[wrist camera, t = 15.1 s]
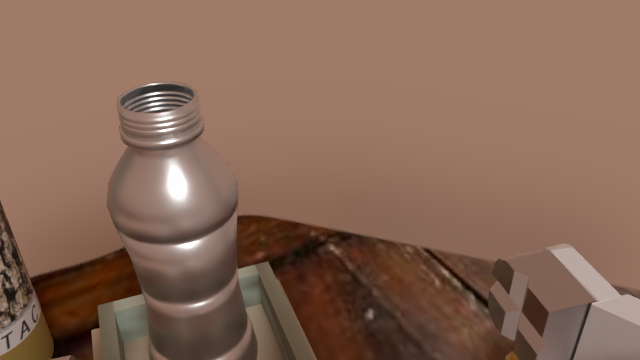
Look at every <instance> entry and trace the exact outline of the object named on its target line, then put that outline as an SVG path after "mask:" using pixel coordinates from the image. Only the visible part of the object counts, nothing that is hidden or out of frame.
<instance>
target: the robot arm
mask: <svg viewBox="0 0 640 360" xmlns="http://www.w3.org/2000/svg"><path fill="white" fill-rule="evenodd" d="M492 274H493V275H494V276H495V278H496V279H497V281H496V283H495V284H494V285H493V286H492V287H491V288H490V290H489V296H488V306H489V311H490V315H491V318H492V320H493V322H494V324H495V326H496V327H497V329H498V330H499V332H500V333H501V334H502V335H503V336H505V337H507V338H509V339H511V340H513V341H514V345H513V352H514V353H515V355H516V356H517V358H518V359H519V360H640V299H638V298H635V297H633V296H631V295H628V294H627V295H622V296H621V295H620V294H619V293H618V292H617V291H616V290H615V289H614V288H613V287H612V286H611V285H610V284H609V283H608V282H607V281H606V280H605V279H604V278H603V277H602V276H601V275H600V274H599V273H598V272H597V271H596V270H595V269H594V268H593V267H592V266H591V265H590V264H589V263H588V262H587V261H586V260H585V259H584V258H583V257H582V256H581V255H580V254H579V253H578V252H577V251H576V250H575V249H574V248H573V247H572V246H570V245H568V244H565V243H564V244H560V245H555V246H551V247H547V248H543V249H538V250H534V251H530V252H525V253H521V254H517V255H513V256H509V257H504V258H500V259H498V260H497V261H496V263H495V264H494V268H493V273H492ZM50 360H76V358H75V356H71V355H70V356H65V357H60V358H55V359H50Z"/></svg>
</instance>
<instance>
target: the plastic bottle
mask: <svg viewBox="0 0 640 360" xmlns="http://www.w3.org/2000/svg"><path fill="white" fill-rule="evenodd" d="M117 110H118V115H119V119H120V127H119V131H120V136H121V139H122V141H123V143H125V144H126V145H128V147H127V149H126V150H125V152H124V154H123V155H122V157H121V158H120V160H119V161H118V163H117V165H116V167H115V169H114V171H113V173H112V176H111V178H110V180H109V183H108V193H107V207H108V210H109V212H110V215H111V218H112V221H113V223H114V225H115V227H116V228H117V231H118V233H119V235H120V237H121V239H122V242H123V243H124V246H125V248H126V250H127V252H128V254H129V256H130V258H131V261H132V263H133V266H134V269H135V272H136V275H137V278H138V281H139V283H140V287H141V290H142V293H143V296H144V299H145V306H146V313H147V320H148V327H149V339H148V349H149V360H257V353H258V341H257V338H256V335H255V332H254V329H253V325H252V322H251V320H250V318H249V315H248V313H247V312H246V308H245V304H244V300H243V296H242V292H241V288H240V284H239V280H238V267H237V251H236V230H237V207H238V191H237V181H236V179H235V176H234V174H233V172H232V170H231V168H230V166H229V164H228V163H227V162H226V161H225V160H224V158H223V157H222V156H221V155H220V154H219V153H218V152H217V151H216V150H215V149H214V147H212V146H211V145H210V144H208V142H207V141H205V140H204V139H203V138H202V137H201V136H200V135H201V134H202V133H203V130H204V120H203V117H202V115H201V114H200V105H199V97H198V94H197V91H196V90H195V89H194V88H193V87H191V86H190V85H186V84H183V83H178V82H156V83H149V84H144V85H140V86H137V87H134V88H132V89H129V90H127V91H125V92H124V93H123V94H121V95H120V96H119V97H118V99H117Z"/></svg>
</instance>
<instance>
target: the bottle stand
mask: <svg viewBox="0 0 640 360" xmlns="http://www.w3.org/2000/svg"><path fill="white" fill-rule="evenodd" d="M238 280H239V284H240V288H241V292H242V296H243V300H244V304H245V308H246V312H247V313H248V315H249V318H250V320H251V322H252V325H253V329H254V332H255V335H256V338H257V341H258V353H257V360H317V358H316V356H315V354H314V352H313V350H312V348H311V346H310V344H309V342H308V340H307V338H306V335H305V333H304V331H303V329H302V327H301V325H300V323H299V321H298V319H297V317H296V314H295V312H294V310H293V308H292V306H291V304H290V302H289V300H288V298H287V296H286V294H285V291H284V289H283V287H282V285H281V283H280V281H279V280H276V278H275V275H274V273H273V271H272V269H271V267H270V265H269V263H268V262H264V263H260V264H256V265H252V266H248V267H244V268H241V269H238ZM98 315H99V326H100V328H98V329H94V330H91V332H92V345H93V358H94V360H149V349H148V339H149V327H148V320H147V313H146V306H145V299H144V296H143V294H140V295H137V296H133V297H129V298H125V299H121V300H117V301H113V302H110V303H106V304H102V305H98Z"/></svg>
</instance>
